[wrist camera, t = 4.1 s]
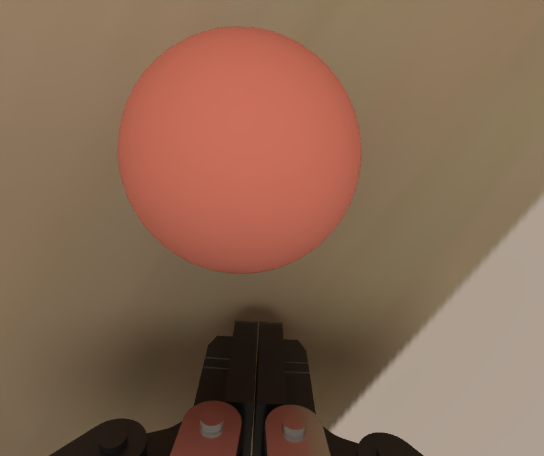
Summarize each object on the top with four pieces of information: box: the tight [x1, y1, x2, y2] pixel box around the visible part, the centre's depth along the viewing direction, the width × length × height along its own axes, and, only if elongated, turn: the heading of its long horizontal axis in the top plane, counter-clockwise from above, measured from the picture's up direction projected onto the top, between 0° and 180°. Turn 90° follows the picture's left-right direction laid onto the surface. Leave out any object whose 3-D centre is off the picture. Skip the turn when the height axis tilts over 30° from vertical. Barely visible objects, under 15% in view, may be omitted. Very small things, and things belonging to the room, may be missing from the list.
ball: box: [118, 27, 361, 274], centre depth 10 cm, size 6×6×6 cm
